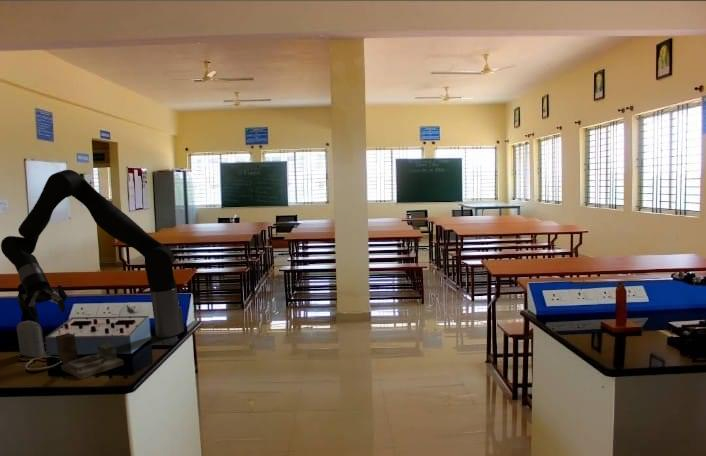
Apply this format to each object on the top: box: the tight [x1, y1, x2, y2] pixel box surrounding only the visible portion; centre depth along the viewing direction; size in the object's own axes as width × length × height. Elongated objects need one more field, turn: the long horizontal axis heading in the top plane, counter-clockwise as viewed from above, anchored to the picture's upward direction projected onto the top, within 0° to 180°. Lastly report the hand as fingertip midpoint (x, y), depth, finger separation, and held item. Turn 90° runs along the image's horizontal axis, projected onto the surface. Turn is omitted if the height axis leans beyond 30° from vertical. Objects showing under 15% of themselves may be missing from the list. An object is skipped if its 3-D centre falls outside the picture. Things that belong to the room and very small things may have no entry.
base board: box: [61, 342, 125, 380], centre depth 161 cm, size 13×15×6 cm
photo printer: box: [16, 321, 46, 358], centre depth 180 cm, size 10×4×12 cm, turn 60°
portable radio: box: [17, 282, 44, 336], centre depth 202 cm, size 8×6×25 cm
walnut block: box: [55, 332, 79, 365], centre depth 169 cm, size 4×5×9 cm
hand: (49, 313), depth 175 cm, fingers open, 8 cm apart
